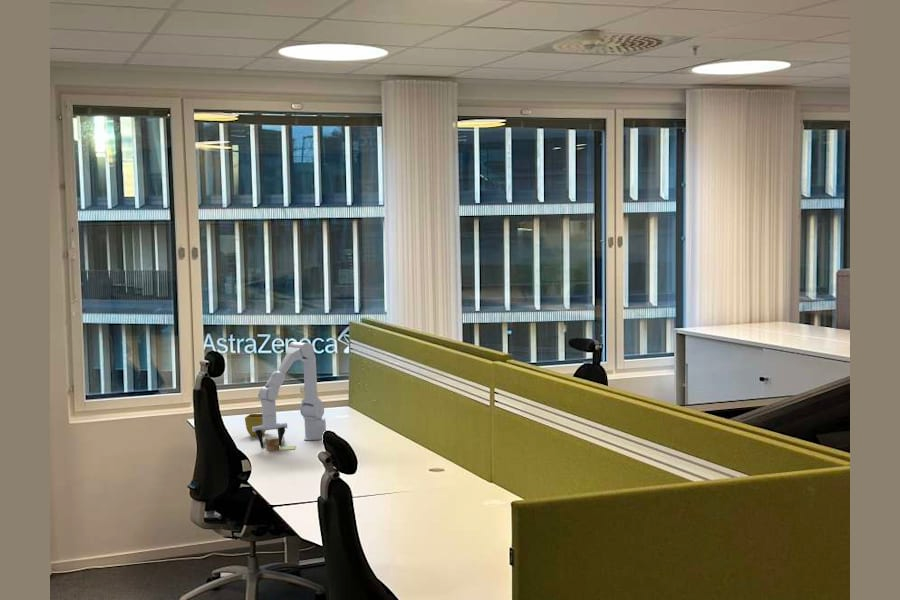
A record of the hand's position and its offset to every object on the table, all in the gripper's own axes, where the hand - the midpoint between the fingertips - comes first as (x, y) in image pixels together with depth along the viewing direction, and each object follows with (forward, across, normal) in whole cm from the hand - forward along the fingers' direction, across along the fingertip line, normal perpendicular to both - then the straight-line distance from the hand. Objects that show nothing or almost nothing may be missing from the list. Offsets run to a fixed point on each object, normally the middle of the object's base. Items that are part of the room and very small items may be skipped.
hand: (270, 446), depth 390 cm
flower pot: (+2, 0, -32) cm, 33 cm away
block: (+2, -1, 0) cm, 2 cm away
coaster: (+1, -7, +1) cm, 7 cm away
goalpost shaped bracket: (+1, -2, -9) cm, 9 cm away
